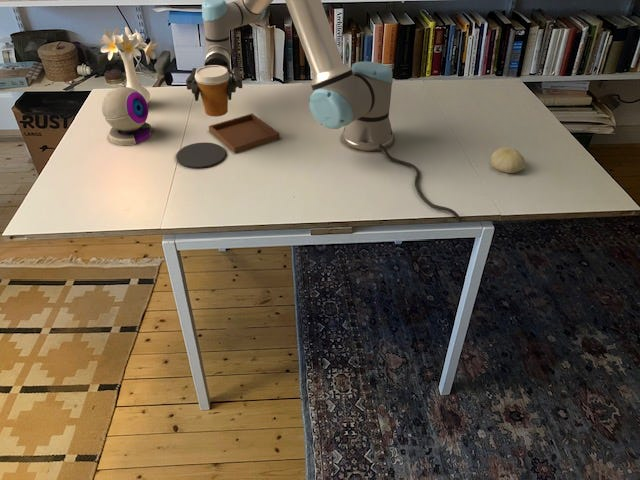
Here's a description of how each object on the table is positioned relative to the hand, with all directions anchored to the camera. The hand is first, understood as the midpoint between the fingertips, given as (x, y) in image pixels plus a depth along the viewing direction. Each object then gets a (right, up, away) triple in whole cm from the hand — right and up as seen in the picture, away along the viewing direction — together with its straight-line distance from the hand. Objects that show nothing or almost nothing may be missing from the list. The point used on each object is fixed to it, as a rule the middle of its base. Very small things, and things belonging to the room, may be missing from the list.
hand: (212, 95), depth 147 cm
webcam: (-29, -7, +20) cm, 36 cm away
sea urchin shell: (+82, -19, +7) cm, 84 cm away
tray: (+6, -7, +20) cm, 22 cm away
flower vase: (-31, +6, +36) cm, 48 cm away
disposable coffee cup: (-1, -3, +8) cm, 9 cm away
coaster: (-5, -15, +10) cm, 19 cm away
